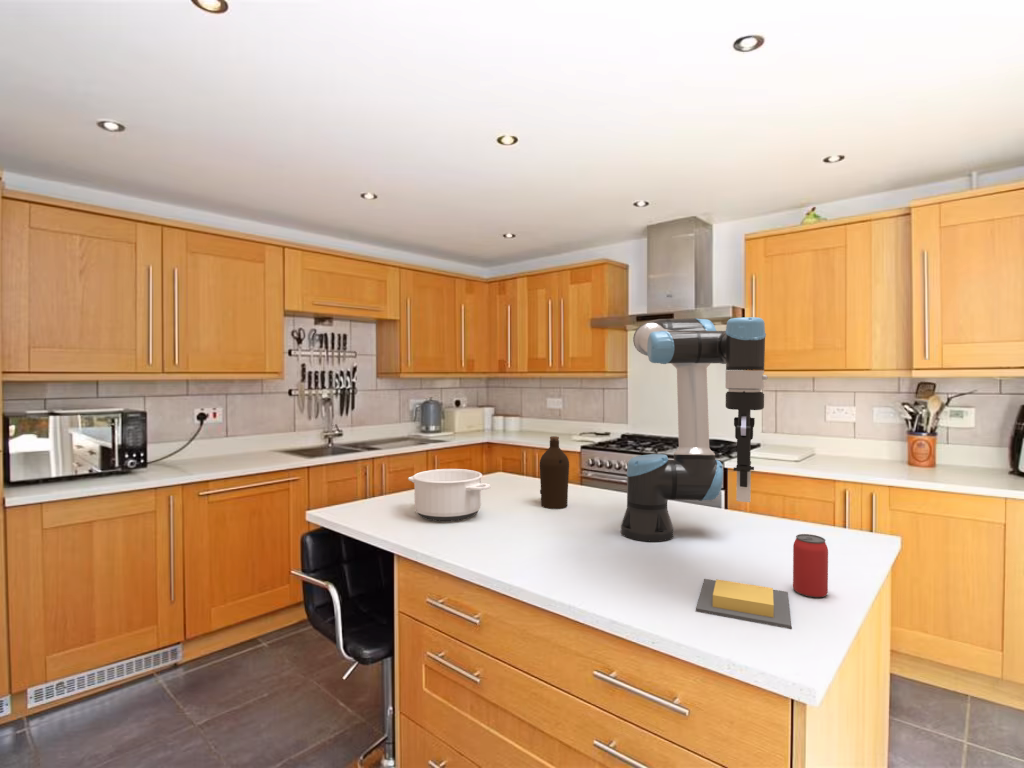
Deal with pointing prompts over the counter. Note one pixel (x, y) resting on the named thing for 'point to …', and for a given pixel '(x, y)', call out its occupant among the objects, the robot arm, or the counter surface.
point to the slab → (743, 598)
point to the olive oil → (554, 476)
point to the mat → (780, 612)
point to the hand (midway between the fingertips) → (743, 500)
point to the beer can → (810, 566)
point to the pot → (448, 494)
